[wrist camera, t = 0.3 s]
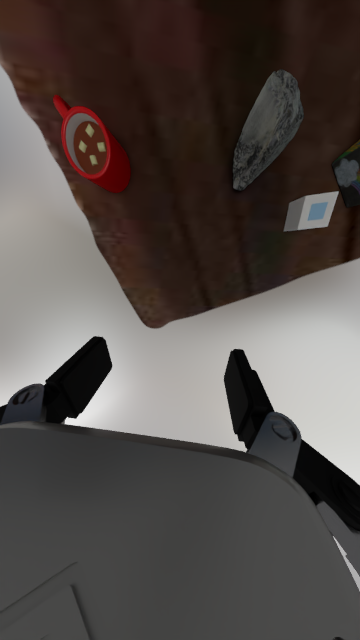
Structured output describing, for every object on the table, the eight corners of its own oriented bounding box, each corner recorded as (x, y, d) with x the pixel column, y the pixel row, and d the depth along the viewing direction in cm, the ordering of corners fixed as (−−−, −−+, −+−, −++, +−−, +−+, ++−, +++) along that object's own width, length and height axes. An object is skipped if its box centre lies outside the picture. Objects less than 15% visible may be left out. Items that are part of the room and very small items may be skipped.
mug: (89, 100, 25) (49, 47, 18) (138, 170, 29) (120, 148, 22) (68, 143, 28) (26, 111, 21) (115, 202, 32) (92, 191, 25)
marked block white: (289, 202, 29) (306, 195, 25) (316, 199, 28) (339, 190, 24) (283, 231, 31) (298, 229, 27) (308, 228, 31) (328, 226, 26)
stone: (294, 154, 19) (290, 28, 15) (227, 196, 27) (212, 121, 23) (310, 154, 24) (311, 58, 20) (249, 190, 31) (240, 126, 27)
